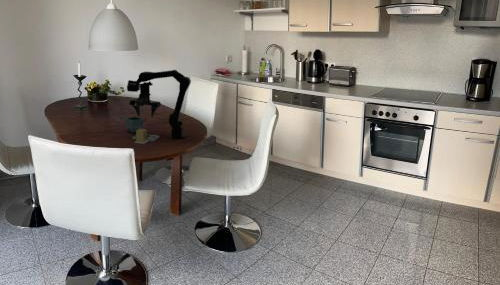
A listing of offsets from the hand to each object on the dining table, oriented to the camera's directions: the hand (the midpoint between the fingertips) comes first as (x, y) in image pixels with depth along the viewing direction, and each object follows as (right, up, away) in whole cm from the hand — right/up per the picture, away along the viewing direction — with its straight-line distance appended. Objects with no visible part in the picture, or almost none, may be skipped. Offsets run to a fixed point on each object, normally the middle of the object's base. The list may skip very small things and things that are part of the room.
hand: (145, 116), depth 235 cm
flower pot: (-10, -9, +11) cm, 18 cm away
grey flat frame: (+1, -14, -3) cm, 14 cm away
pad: (+1, -16, -10) cm, 19 cm away
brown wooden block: (+1, -15, -10) cm, 18 cm away
